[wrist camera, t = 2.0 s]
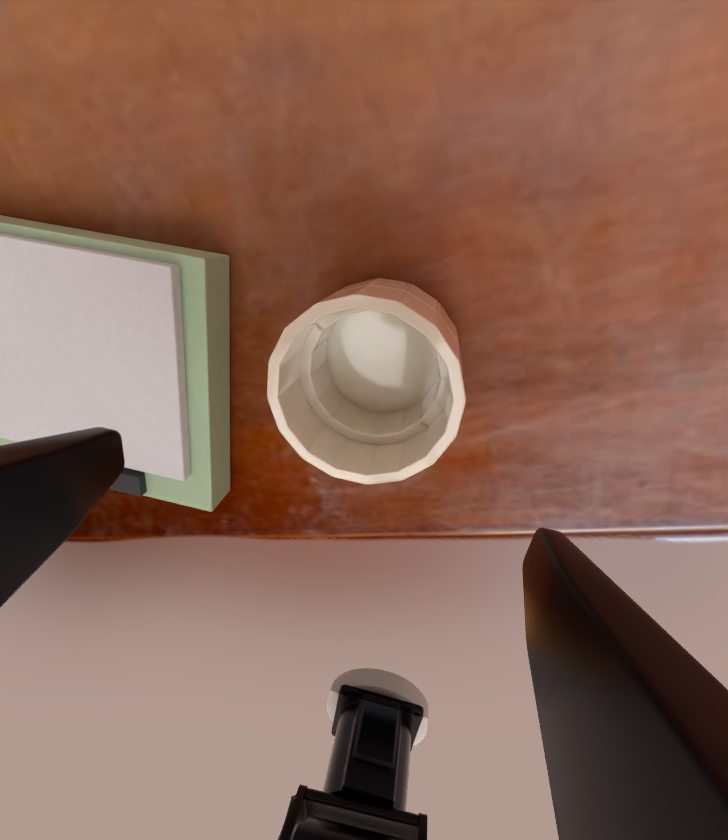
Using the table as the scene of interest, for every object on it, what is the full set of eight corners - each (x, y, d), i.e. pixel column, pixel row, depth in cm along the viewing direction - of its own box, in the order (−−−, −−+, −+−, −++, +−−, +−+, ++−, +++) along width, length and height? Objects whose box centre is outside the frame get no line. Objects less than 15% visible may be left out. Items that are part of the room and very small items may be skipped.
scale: (230, 490, 22) (205, 520, 20) (34, 443, 24) (-12, 466, 21) (230, 255, 17) (195, 259, 15) (-24, 210, 18) (-93, 208, 16)
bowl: (441, 436, 19) (438, 501, 14) (306, 408, 19) (263, 461, 15) (477, 292, 16) (489, 317, 11) (318, 265, 17) (270, 278, 12)
